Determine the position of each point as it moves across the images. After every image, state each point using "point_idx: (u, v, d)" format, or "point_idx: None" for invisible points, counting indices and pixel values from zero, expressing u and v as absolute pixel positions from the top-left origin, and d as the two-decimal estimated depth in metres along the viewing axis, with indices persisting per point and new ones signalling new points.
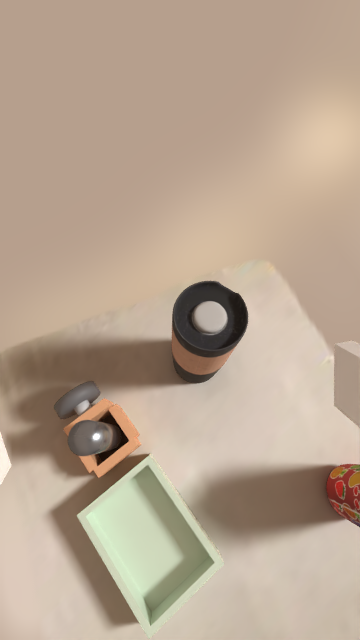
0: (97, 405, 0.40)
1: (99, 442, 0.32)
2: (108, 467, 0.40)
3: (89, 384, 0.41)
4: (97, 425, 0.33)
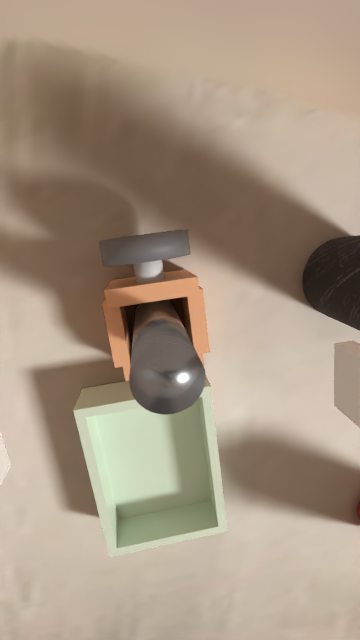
0: (180, 283, 0.21)
1: (190, 401, 0.15)
2: None
3: (184, 236, 0.20)
4: (201, 369, 0.15)
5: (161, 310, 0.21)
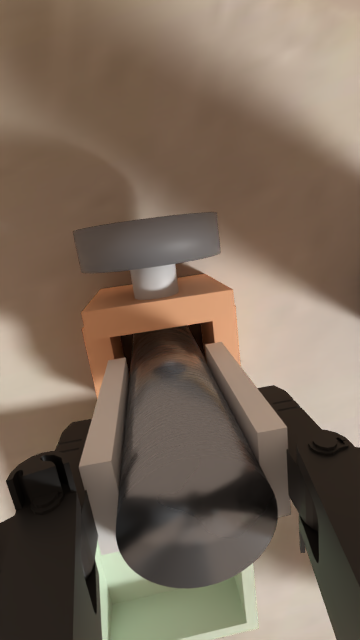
0: (204, 299, 0.13)
1: (244, 562, 0.07)
2: None
3: (213, 224, 0.12)
4: (271, 501, 0.07)
5: (174, 342, 0.13)
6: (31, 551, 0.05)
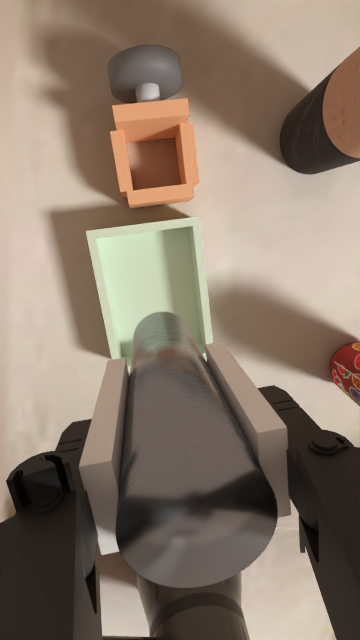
0: (173, 102, 0.25)
1: (244, 561, 0.07)
2: (146, 200, 0.29)
3: (176, 59, 0.25)
4: (271, 500, 0.07)
5: (174, 342, 0.13)
6: (31, 551, 0.05)
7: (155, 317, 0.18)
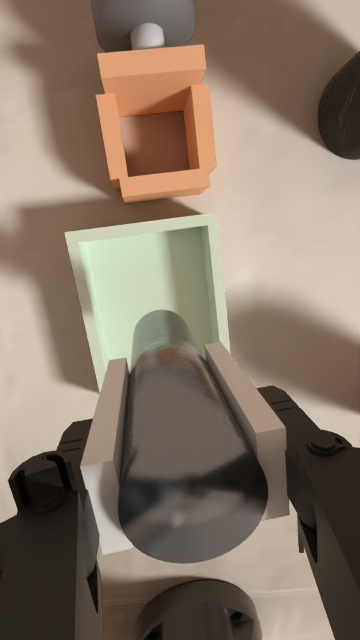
0: (184, 51, 0.18)
1: (237, 538, 0.08)
2: (145, 190, 0.21)
3: None
4: (261, 481, 0.07)
5: (172, 338, 0.14)
6: (33, 550, 0.05)
7: (154, 315, 0.18)
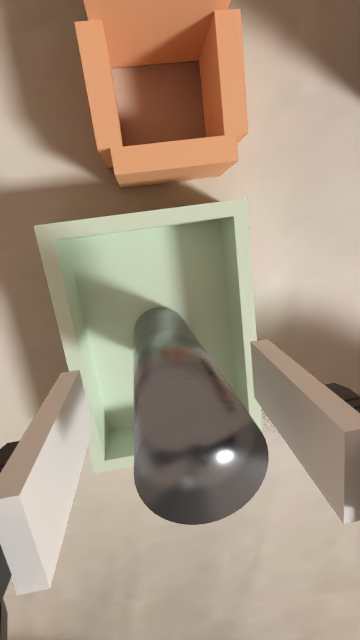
0: None
1: (241, 500, 0.09)
2: (147, 166, 0.15)
3: None
4: (262, 446, 0.08)
5: (174, 330, 0.15)
6: None
7: (154, 312, 0.19)
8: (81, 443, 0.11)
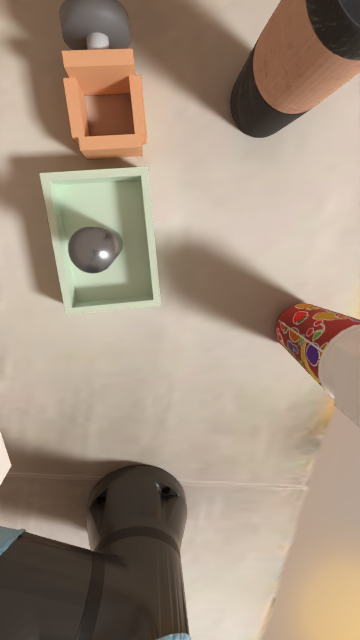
0: (119, 52, 0.28)
1: (106, 266, 0.25)
2: (96, 146, 0.31)
3: (122, 11, 0.27)
4: (112, 245, 0.25)
5: None
6: None
7: None
8: None
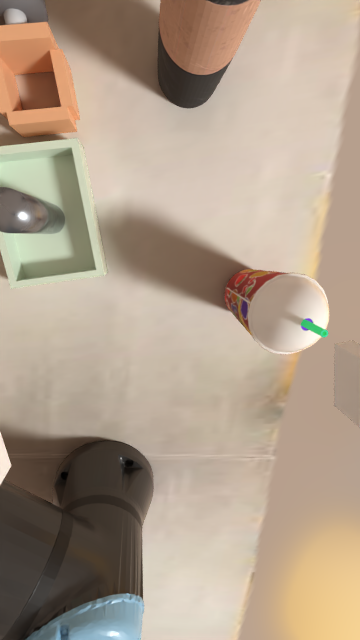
0: (34, 26, 0.29)
1: (22, 225, 0.26)
2: (25, 120, 0.32)
3: None
4: (26, 204, 0.26)
5: None
6: None
7: None
8: None
